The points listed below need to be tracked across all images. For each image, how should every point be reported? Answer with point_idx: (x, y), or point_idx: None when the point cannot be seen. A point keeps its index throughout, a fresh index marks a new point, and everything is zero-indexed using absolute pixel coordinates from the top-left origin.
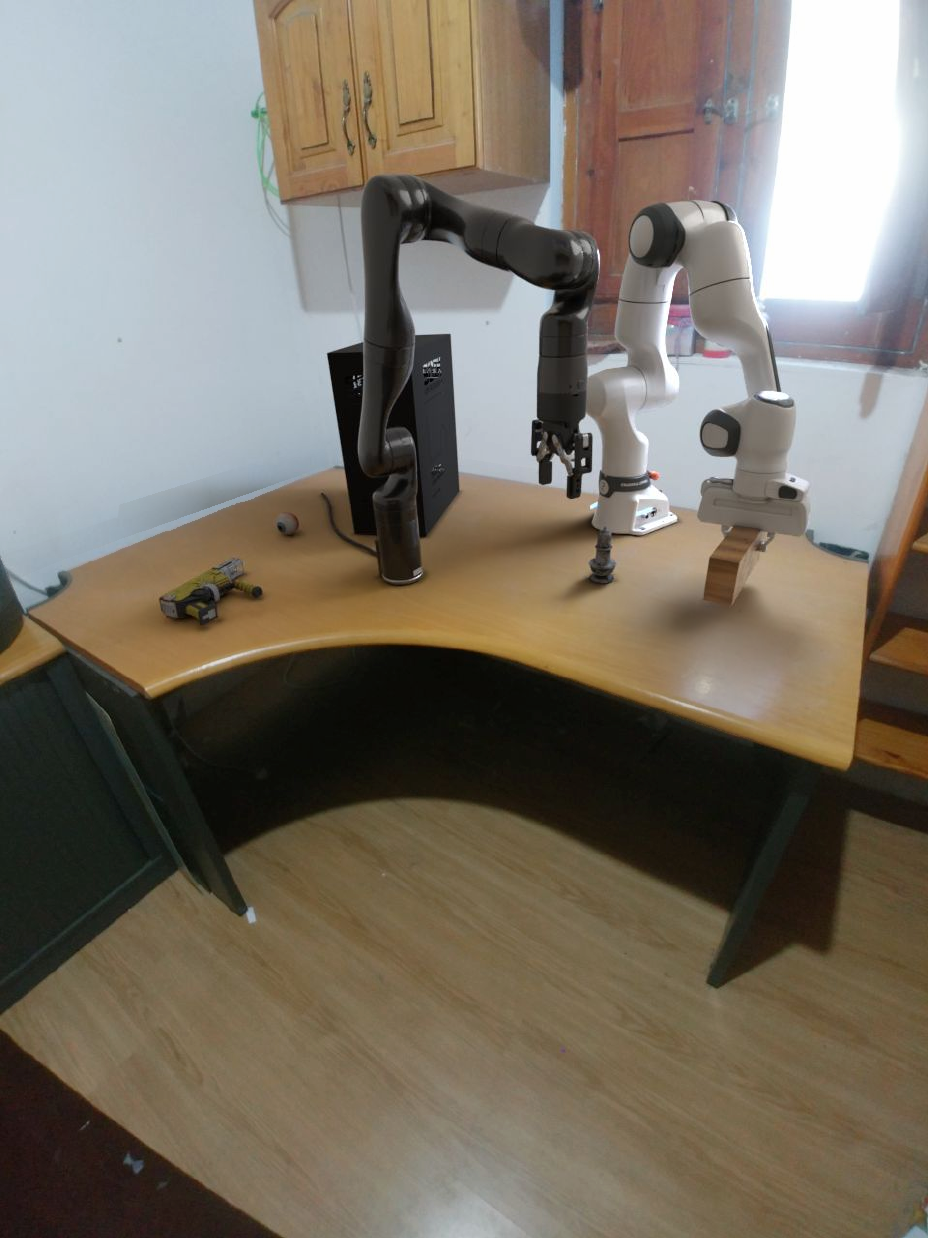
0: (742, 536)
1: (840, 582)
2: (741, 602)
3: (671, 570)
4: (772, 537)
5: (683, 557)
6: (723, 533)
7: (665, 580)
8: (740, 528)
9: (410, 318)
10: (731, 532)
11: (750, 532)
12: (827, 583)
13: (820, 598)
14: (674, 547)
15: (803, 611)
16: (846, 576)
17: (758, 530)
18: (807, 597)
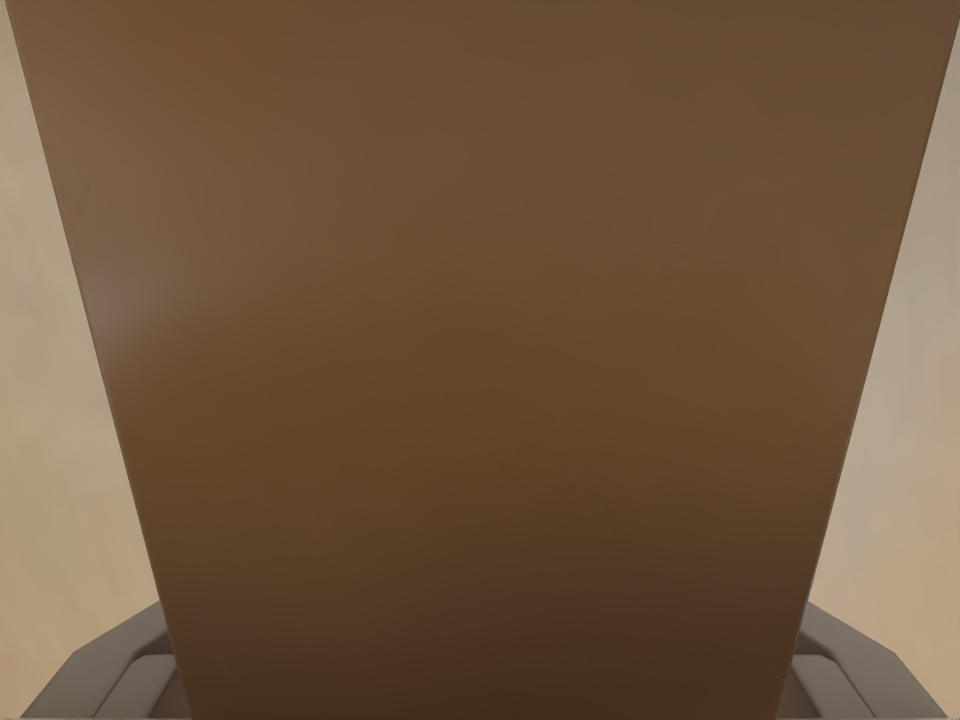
0: (440, 58)
1: (27, 621)
2: None
3: (920, 372)
4: (95, 658)
5: (855, 573)
6: (811, 611)
7: (955, 197)
8: (613, 630)
9: None
10: (815, 273)
11: (331, 491)
12: (72, 586)
13: (22, 401)
14: (918, 668)
15: (20, 176)
16: (34, 688)
17: (221, 672)
18: (83, 381)
